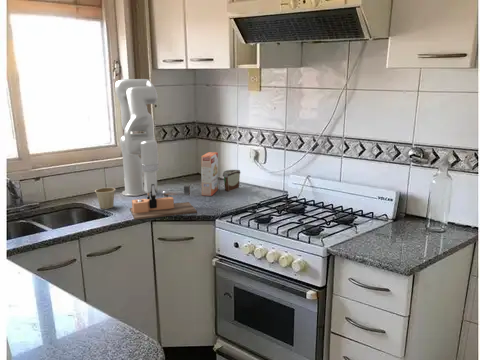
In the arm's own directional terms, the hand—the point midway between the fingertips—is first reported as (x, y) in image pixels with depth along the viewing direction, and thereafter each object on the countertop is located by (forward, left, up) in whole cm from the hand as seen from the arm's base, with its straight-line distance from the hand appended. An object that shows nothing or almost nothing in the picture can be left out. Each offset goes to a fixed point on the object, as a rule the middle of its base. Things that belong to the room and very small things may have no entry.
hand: (152, 206), depth 217 cm
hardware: (-3, +1, -2) cm, 3 cm away
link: (0, +1, -2) cm, 2 cm away
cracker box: (-23, +35, -3) cm, 42 cm away
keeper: (-3, +12, +4) cm, 13 cm away
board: (+2, +5, -3) cm, 6 cm away
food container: (-27, +47, -3) cm, 54 cm away
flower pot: (-15, -19, -3) cm, 25 cm away
